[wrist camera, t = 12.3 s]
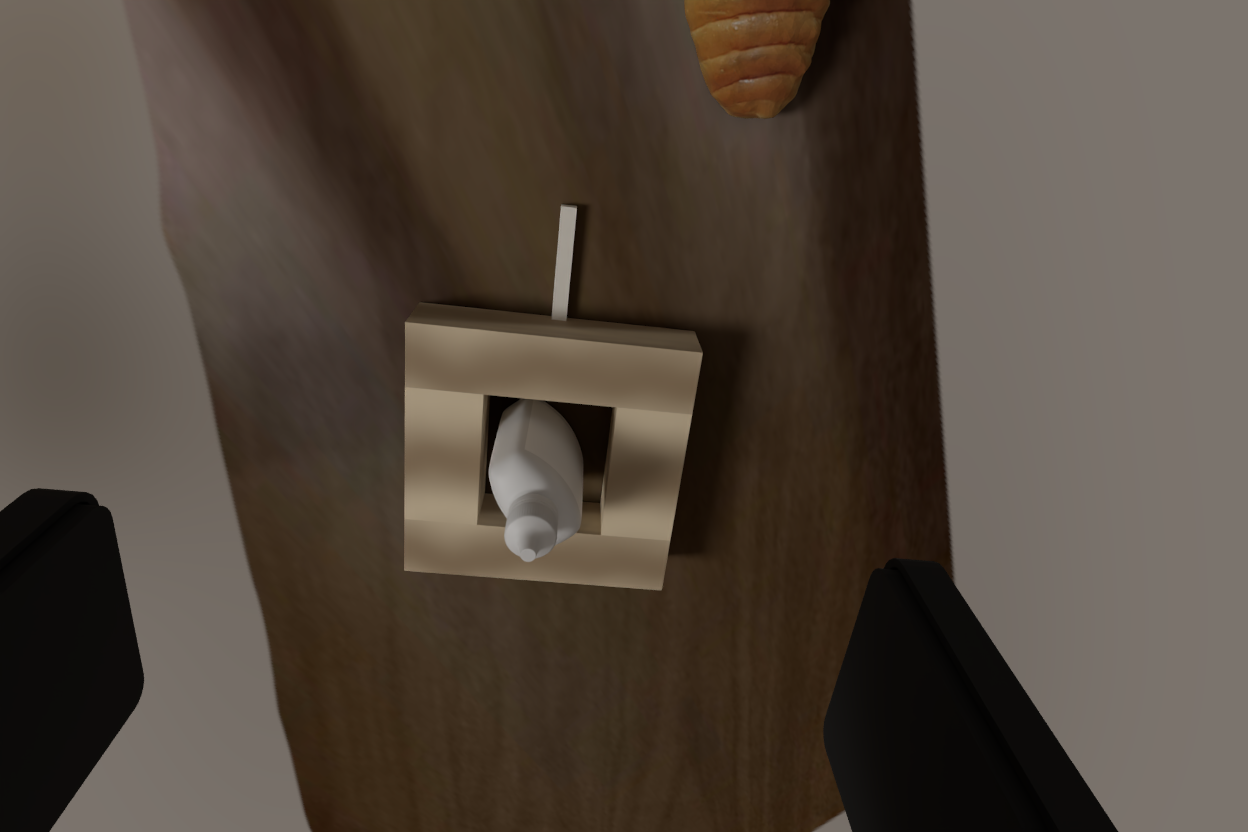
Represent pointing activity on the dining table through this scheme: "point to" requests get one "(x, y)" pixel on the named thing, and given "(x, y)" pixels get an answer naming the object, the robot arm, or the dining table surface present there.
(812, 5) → the pastry
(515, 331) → the rectangular frame
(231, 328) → the dining table surface
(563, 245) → the white rectangular bar
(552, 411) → the eye dropper bottle
